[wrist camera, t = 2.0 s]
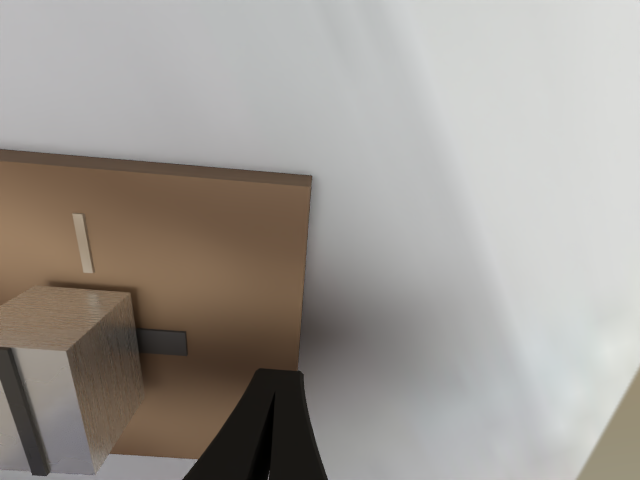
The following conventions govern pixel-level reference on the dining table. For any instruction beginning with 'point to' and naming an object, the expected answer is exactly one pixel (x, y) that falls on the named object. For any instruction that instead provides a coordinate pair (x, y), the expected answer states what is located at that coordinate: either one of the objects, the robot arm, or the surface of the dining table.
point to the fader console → (167, 274)
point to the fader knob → (66, 378)
